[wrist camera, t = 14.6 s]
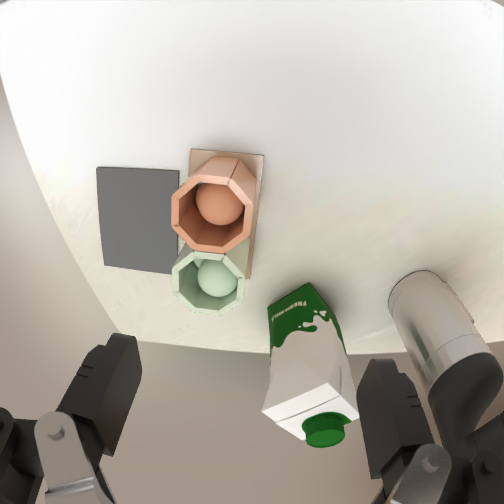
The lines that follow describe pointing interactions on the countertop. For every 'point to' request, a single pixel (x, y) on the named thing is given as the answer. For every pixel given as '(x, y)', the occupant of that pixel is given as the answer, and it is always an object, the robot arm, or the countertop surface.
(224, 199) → the ball rust
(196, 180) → the tubes
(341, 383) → the milk carton
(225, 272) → the ball sage
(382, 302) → the countertop surface
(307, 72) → the countertop surface
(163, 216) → the mat
